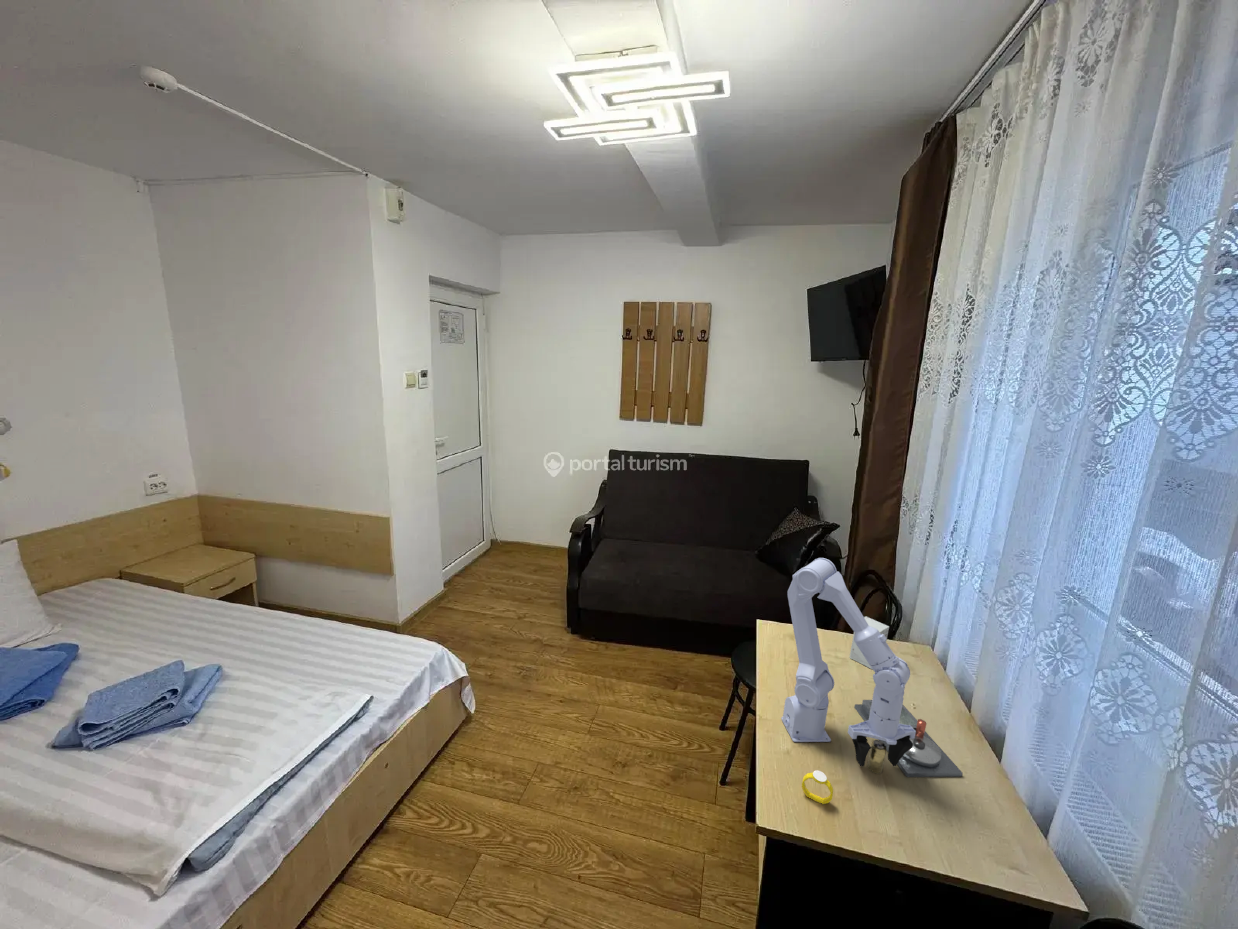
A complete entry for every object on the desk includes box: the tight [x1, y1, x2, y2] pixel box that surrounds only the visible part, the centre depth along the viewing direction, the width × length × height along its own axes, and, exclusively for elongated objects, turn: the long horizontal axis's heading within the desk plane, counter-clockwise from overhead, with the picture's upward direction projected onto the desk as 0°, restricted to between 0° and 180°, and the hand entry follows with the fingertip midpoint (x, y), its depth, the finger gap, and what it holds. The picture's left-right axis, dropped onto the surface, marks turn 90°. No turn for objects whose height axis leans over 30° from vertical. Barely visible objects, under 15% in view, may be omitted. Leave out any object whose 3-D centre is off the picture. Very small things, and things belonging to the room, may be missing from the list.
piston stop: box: [867, 739, 887, 775], centre depth 108 cm, size 3×3×7 cm
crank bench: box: [854, 699, 963, 778], centre depth 118 cm, size 13×22×4 cm, turn 3°
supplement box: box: [849, 616, 890, 670], centre depth 148 cm, size 7×7×13 cm
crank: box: [904, 718, 941, 767], centre depth 112 cm, size 9×9×6 cm
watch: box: [801, 769, 834, 805], centre depth 100 cm, size 6×3×6 cm, turn 60°
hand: (875, 763), depth 109 cm, fingers open, 7 cm apart
